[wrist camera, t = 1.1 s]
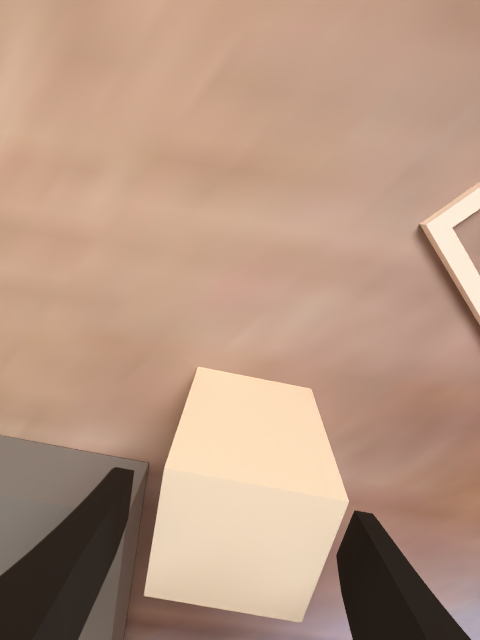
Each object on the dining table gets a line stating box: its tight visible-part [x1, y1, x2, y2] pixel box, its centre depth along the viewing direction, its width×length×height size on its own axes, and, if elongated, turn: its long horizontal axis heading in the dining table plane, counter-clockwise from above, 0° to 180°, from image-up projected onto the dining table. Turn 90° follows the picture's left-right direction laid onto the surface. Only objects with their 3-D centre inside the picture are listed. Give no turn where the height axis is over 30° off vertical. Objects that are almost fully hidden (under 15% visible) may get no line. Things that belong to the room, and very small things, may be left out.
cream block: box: [144, 367, 349, 623], centre depth 13 cm, size 5×5×6 cm
